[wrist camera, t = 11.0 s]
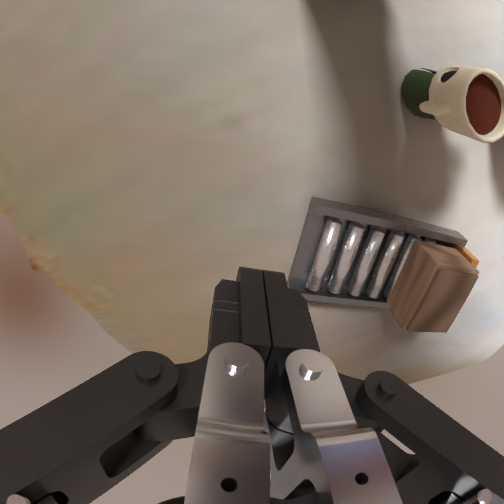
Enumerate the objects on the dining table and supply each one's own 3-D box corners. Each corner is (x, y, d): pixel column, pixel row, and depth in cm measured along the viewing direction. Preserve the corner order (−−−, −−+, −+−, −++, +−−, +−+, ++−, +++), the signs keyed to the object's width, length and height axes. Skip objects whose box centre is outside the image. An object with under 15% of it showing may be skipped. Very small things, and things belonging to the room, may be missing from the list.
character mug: (447, 60, 29) (518, 65, 18) (458, 112, 33) (526, 134, 21) (375, 71, 31) (437, 73, 19) (390, 128, 34) (452, 154, 23)
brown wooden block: (386, 301, 42) (403, 333, 37) (414, 239, 38) (439, 266, 32) (427, 305, 43) (447, 334, 38) (456, 248, 39) (481, 274, 33)
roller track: (285, 285, 44) (293, 319, 38) (311, 196, 38) (326, 220, 32) (424, 301, 47) (442, 329, 41) (457, 231, 41) (483, 254, 35)
